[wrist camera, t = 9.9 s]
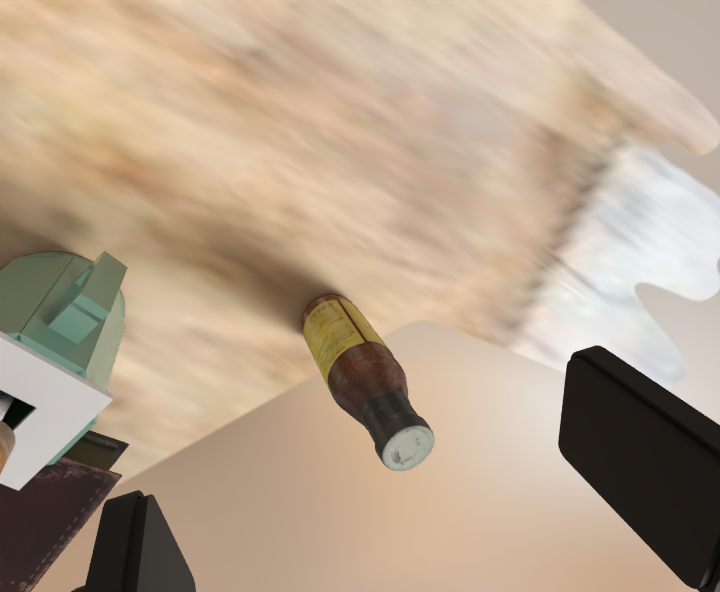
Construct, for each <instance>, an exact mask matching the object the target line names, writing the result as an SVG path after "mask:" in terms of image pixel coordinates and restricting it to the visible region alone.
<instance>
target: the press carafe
mask: <svg viewBox="0 0 720 592" xmlns="http://www.w3.org/2000/svg"><path fill="white" fill-rule="evenodd" d="M127 268H128V267H126V266H125V265H123V264H122V263H121V262H119V261H118V260H117V259H115V258H114V257H112V256H111V255H110V254H108V253H107V252H106V251H104V252H103V253H102V254H101V255H100V256H99V257H98V258H97V259H96V260H95V261H94V262H92V261H90V260H88V259H86V258H83V257H80V256H78V255H74V254H70V253H65V252H57V251H45V252H37V253H31V254H28V255H25V256H22V257H16V258H14V259H13V260H12V261H11V262H10V263H9V264H7V265H6V266H5V267H4V268H3V269H2V270H1V271H0V390H2V391H4V392H6V393H8V394H10V395H12V396H14V397H15V398H14V400H13V402H12V403H11V405H10V407H9V409H8V410H7V412H6V414H5V416H4V417H3V419H2V422H4V423H6V424H7V425H8V426H9V427H10V428H11V429H12V431H13V432H14V435H15V439H16V442H15V446H14V448H13V450H12V452H11V454H10V456H9V458H8V460H7V462H6V464H5V466H4V468H3V470H2V472H1V474H0V483H1V484H3V485H6V486H8V487H11V488H13V489H16V490H18V491H19V490H20V489H21V488H22V487H23V486H24V485H25V484H26V483H27V482H28V481H29V480H30V479H31V478H32V477H33V476H34V475H35V474H37V473H38V472H39V471H40V470H41V469H42V468H43V467H44V466H45V465H51V464H54V463H55V462H56V461H57V460H58V459H59V458H60V457H61V456H62V455H63V454H64V453H65V452H67V451H68V450H69V449H70V448H71V447H72V446H73V445H74V444H75V443H76V442H77V441H78V440H79V439H80V438H81V437H82V436H83V435H84V434H85V433H86V432H87V431H88V430H89V429H90V428H91V427H92V426H94V425H95V424H96V421H97V418H98V414H99V413H100V412H101V411H102V410H103V409H104V408H105V407H106V406H107V405H108V404H109V403H110V402H111V401H112V400H113V398H114V394H112V393H110V392H108V391H106V388H107V385H108V381H109V378H110V375H111V372H112V368H113V365H114V362H115V358H116V355H117V352H118V349H119V345H120V342H121V339H122V335H123V332H124V329H125V327H124V315H125V302H124V298H123V295H122V292H121V290H120V286H121V283H122V281H123V278H124V275H125V273H126V270H127Z"/></svg>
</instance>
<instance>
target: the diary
mask: <svg viewBox="0 0 720 592" xmlns="http://www.w3.org/2000/svg"><path fill="white" fill-rule="evenodd" d="M128 445H129V444H127V443H125V442H122V441H119V440H116V439H113V438H110V437H107V436H104V435H101V434H99V433H96V432H93V431H90V430H88V431H87V432H86V433H85V434H84V435H83V436H82V437H81V438H80V439H79V440H78V441H77V442H76V443H75V444H74V445H73V446H72V447H71V448H70V449H69V450H68V451H67V452H65V453H64V454H63V455H62V456H61V457H60V458H59V459H58V460H57V461H56V462H55V463H54V464H51V465H45V466H44V467H43V468H42V469H41V470H40V471H39V472H38V473H37V474H35V475H34V476H33V477H32V478H31V479H30V480H29V481H28V482H27V483H26V484H25V485H24V486H23V487H22V488H21V489H20V490H19V491H18V490H16V489H13V488H11V487H8V486H6V485H3V484H1V483H0V592H31V591H32V589H33V588H34V587H35V586H36V584H37V583H38V582H39V580H40V579H41V578H42V577H43V575H44V574H45V573H46V571H47V570H48V569H49V567H50V566H51V565H52V564H53V562H54V561H55V560H56V559H57V558H58V556H59V555H60V554H61V553H62V551H63V550H64V549H65V548H66V547H67V545H68V544H69V543H70V542H71V540H72V539H73V538H74V537H75V536H76V534H77V533H78V532H79V530H80V529H81V528H82V527H83V526H84V524H85V523H86V522H87V521H88V519H89V518H90V517H91V515H92V514H93V513H94V512H95V510H96V509H97V507H98V506H99V505H100V504H101V502H102V501H103V500H104V499H105V497H106V495H108V493H109V492H110V491H111V490H112V488H113V487H114V486H115V484H116V483H117V482H118V481H119V479H120V478H121V477H122V475H121V474H118V473H115V472H112V471H109V469H110V468H111V467H112V466H113V464H114V463H115V462H116V461H117V459H118V458H119V457H120V456H121V454H122V453H123V452H124V451H125V449H126V448H127V447H128Z"/></svg>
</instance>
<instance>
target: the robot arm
mask: <svg viewBox="0 0 720 592" xmlns="http://www.w3.org/2000/svg"><path fill="white" fill-rule="evenodd" d="M558 445H559V449H560V451H561V453H562V455H563V457H564V458H565V459H566V460H567V461H568V462H569V463H570V464H571V465H572V466H573V468H574V469H575V470H576V471H577V472H578V473H579V474H580V475H581V476H582V477H583V478H584V479H585V480H586V481H587V482H588V483H589V484H590V485H591V486H592V487H593V488H594V489H595V490H596V492H597V493H598V494H599V495H600V496H601V497H602V498H603V499H604V500H605V501H606V502H607V503H608V504H609V505H610V506H611V507H612V508H613V509H614V510H615V511H616V513H618V515H619V516H620V517H621V518H622V519H623V520H624V521H625V522H626V523H627V524H628V525H629V526H630V527H631V528H632V529H633V530H634V531H635V532H636V533H637V534H638V535H639V536H640V538H641V539H642V540H643V541H644V542H645V543H646V544H647V545H648V546H649V547H650V548H651V549H652V550H653V551H654V552H655V553H656V554H657V555H658V556H659V557H660V559H662V561H663V562H664V563H665V564H666V565H667V566H668V567H669V568H670V569H671V570H672V571H673V572H674V573H675V574H676V575H677V576H678V577H679V578H680V579H681V580H682V581H683V582H684V583H685V584H686V585H687V586H689V587H691V588H694V589H698V591H699V592H720V425H719V424H717V423H716V422H714V421H712V420H711V419H710V418H708V417H706V416H705V415H704V414H702V413H701V412H699V411H698V410H696V409H695V408H693V407H692V406H690V405H689V404H687V403H685V402H684V401H683V400H681V399H680V398H678V397H677V396H675V395H674V394H672V393H671V392H669V391H668V390H666V389H665V388H663V387H662V386H660V385H659V384H657V383H656V382H654V381H653V380H651V379H650V378H648V377H647V376H645V375H644V374H642V373H641V372H639V371H638V370H636V369H635V368H633V367H632V366H630V365H629V364H627V363H626V362H625V361H623V360H622V359H620V358H619V357H617V356H616V355H614V354H613V353H611V352H610V351H608V350H607V349H605V348H603V347H601V346H593V347H590V348H586V349H583V350H580V351H577V352H574V353H573V354H572V356H571V360H570V361H569V362H568V363H567V368H566V378H565V387H564V396H563V405H562V414H561V423H560V432H559V441H558ZM71 592H196V588H195V582H194V578H193V576H192V574H191V571H190V570H189V567H188V565H187V563H186V561H185V559H184V557H183V555H182V553H181V551H180V549H179V547H178V545H177V543H176V541H175V538H174V536H173V535H172V532H171V530H170V528H169V526H168V524H167V522H166V520H165V518H164V516H163V514H162V511H161V509H160V507H159V505H158V503H157V501H156V499H155V497H154V496H153V495H152V494H151V495H148V496H144V495H143V493H142V492H141V491H139V490H138V491H134V492H131V493H128V494H125V495H122V496H118V497H116V498H112V499H109V500H107V501H106V502H105V504H104V507H103V510H102V514H101V519H100V523H99V528H98V532H97V536H96V541H95V545H94V549H93V554H92V558H91V563H90V567H89V572H88V576H87V580H86V584H85V586H82V587H79V588H76V589H75V590H73V591H71Z"/></svg>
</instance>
